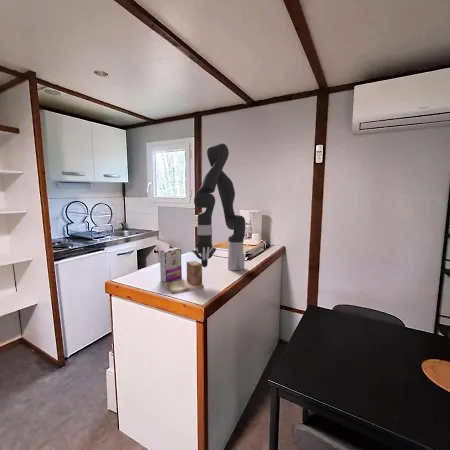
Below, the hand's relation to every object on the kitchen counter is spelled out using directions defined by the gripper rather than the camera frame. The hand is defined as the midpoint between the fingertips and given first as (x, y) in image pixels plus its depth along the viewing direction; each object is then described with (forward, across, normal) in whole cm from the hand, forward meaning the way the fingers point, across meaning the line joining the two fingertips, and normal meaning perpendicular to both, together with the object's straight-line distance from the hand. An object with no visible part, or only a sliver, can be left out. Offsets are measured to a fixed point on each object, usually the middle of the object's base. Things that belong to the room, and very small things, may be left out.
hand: (204, 266), depth 131 cm
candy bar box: (+9, +13, -14) cm, 21 cm away
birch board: (+9, +11, 0) cm, 14 cm away
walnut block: (+8, +6, 0) cm, 9 cm away
